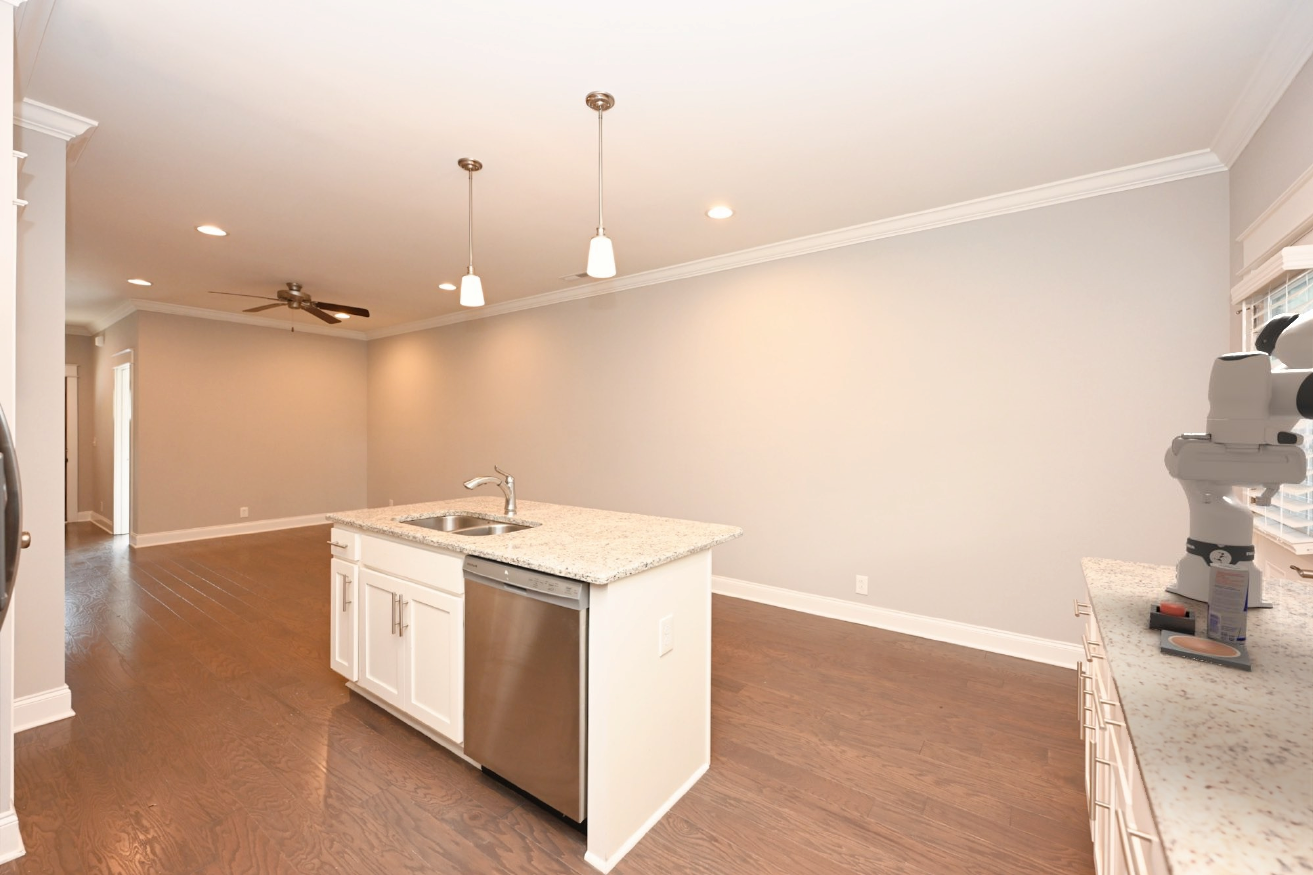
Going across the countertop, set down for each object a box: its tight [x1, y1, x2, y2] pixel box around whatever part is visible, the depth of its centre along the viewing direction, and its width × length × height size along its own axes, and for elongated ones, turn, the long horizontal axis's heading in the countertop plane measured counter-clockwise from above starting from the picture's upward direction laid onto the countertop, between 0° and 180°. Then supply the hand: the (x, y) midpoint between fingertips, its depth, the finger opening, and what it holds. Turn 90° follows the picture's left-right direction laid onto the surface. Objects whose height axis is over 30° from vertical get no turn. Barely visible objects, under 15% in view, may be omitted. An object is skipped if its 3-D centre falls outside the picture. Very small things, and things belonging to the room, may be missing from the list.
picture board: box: [1159, 630, 1252, 672], centre depth 110 cm, size 12×12×1 cm
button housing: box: [1149, 603, 1197, 636], centre depth 122 cm, size 7×7×4 cm
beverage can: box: [1205, 563, 1249, 645], centre depth 115 cm, size 6×6×15 cm
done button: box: [1159, 602, 1187, 617], centre depth 121 cm, size 4×4×2 cm
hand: (1232, 504), depth 114 cm, fingers open, 8 cm apart
